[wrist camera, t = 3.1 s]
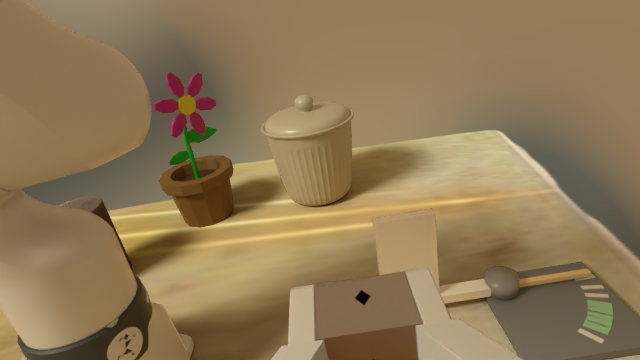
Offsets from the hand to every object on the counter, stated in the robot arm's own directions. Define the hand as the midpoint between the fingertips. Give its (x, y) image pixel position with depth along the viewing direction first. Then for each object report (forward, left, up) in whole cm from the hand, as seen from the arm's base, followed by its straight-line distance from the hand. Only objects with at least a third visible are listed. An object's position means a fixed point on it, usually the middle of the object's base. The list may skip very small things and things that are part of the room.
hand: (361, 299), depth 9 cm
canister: (-43, +57, -34) cm, 79 cm away
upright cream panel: (-6, +38, -32) cm, 50 cm away
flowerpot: (-62, +43, -34) cm, 83 cm away
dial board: (+2, +38, -34) cm, 51 cm away
